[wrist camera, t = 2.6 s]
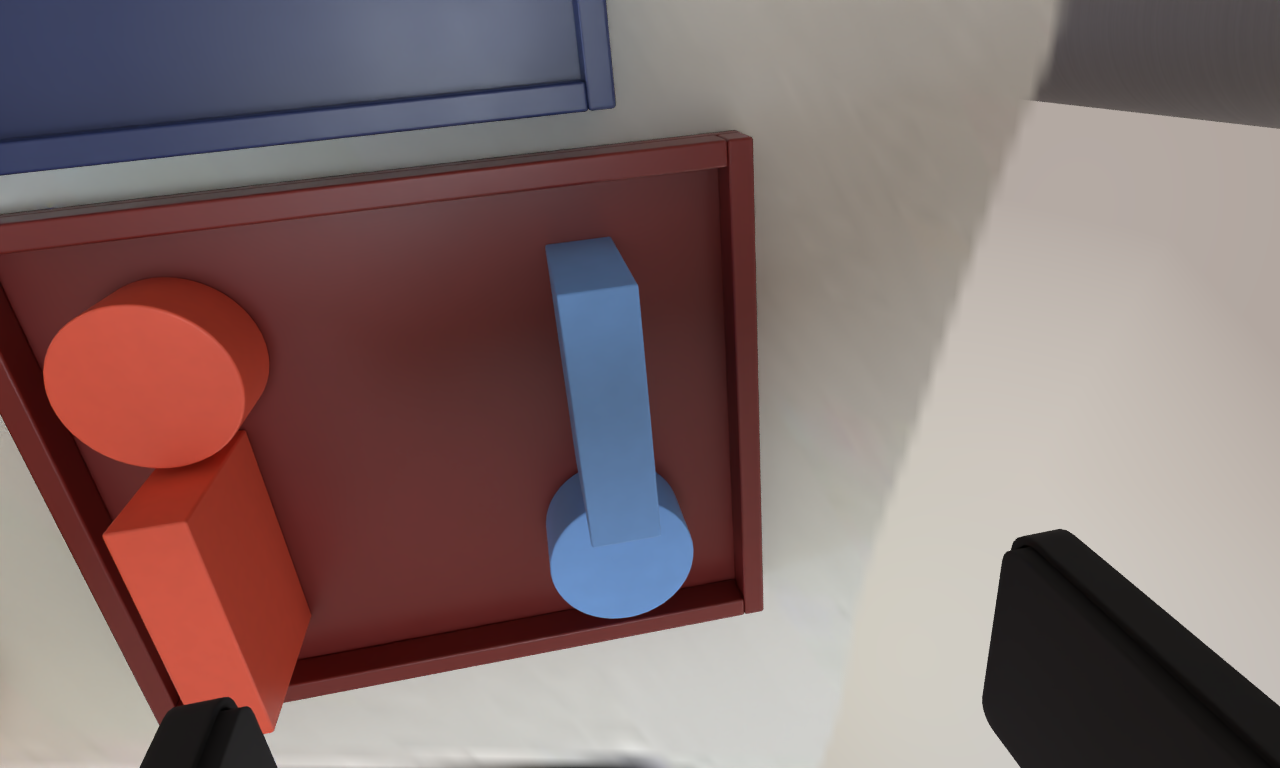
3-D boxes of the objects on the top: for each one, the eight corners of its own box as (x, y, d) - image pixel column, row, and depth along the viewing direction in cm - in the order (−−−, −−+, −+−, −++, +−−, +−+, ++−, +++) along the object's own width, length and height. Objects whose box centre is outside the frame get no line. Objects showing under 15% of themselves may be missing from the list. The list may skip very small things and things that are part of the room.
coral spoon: (353, 608, 21) (322, 723, 18) (211, 633, 21) (151, 757, 17) (241, 266, 17) (172, 326, 13) (61, 288, 17) (-60, 357, 13)
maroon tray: (736, 129, 18) (753, 136, 17) (750, 581, 24) (764, 611, 23) (-48, 219, 16) (-94, 235, 15) (178, 688, 22) (159, 727, 21)
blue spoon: (498, 249, 18) (498, 303, 14) (655, 230, 18) (694, 276, 15) (555, 583, 22) (566, 688, 18) (682, 559, 23) (716, 658, 19)
